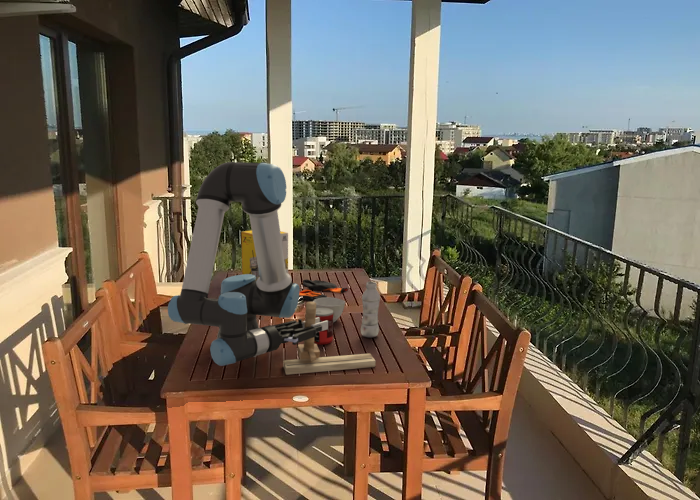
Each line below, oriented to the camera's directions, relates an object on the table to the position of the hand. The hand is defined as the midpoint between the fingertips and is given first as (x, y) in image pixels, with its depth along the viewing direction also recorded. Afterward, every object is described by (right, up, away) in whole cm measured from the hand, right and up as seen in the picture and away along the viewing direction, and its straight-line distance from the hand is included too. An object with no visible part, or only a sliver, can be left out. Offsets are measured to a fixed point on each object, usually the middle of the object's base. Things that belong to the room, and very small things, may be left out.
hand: (322, 323), depth 171 cm
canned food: (-1, -9, +16) cm, 18 cm away
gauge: (-4, -11, -4) cm, 12 cm away
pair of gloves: (-8, +3, +77) cm, 78 cm away
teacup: (-1, -4, +37) cm, 38 cm away
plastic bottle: (+16, -8, +22) cm, 28 cm away
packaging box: (-33, +8, +93) cm, 99 cm away
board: (+2, -13, -5) cm, 14 cm away
